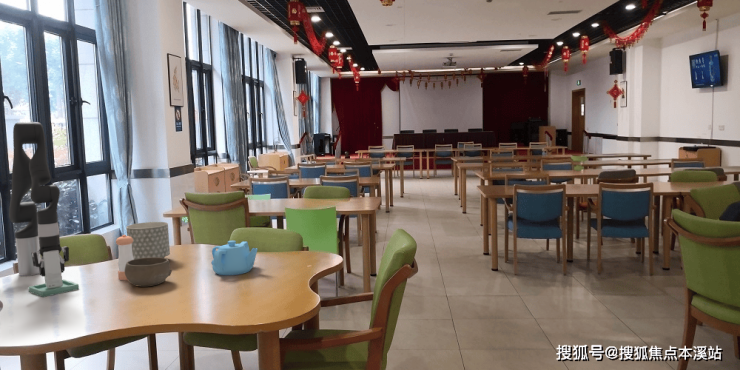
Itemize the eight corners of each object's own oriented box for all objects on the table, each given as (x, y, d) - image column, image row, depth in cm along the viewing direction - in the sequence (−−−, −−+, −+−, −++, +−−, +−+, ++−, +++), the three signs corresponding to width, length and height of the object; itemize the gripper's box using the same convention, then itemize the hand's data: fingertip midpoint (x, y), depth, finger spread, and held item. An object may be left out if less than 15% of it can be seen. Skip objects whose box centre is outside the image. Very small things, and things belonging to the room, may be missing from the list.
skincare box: (63, 286, 248) (60, 250, 246) (46, 289, 245) (43, 252, 243) (60, 282, 255) (57, 247, 253) (44, 284, 252) (41, 249, 250)
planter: (155, 255, 311) (152, 220, 309) (178, 259, 300) (175, 223, 298) (121, 263, 296) (118, 226, 294) (144, 267, 285) (141, 229, 283)
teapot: (214, 278, 260) (212, 246, 259) (209, 269, 278) (207, 239, 277) (259, 273, 267) (257, 242, 265) (251, 264, 285) (250, 235, 283)
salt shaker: (140, 276, 268) (136, 233, 266) (127, 280, 262) (123, 236, 260) (127, 275, 271) (124, 232, 269) (114, 279, 265) (111, 235, 263)
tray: (29, 291, 249) (28, 286, 249) (64, 283, 260) (63, 279, 260) (42, 297, 240) (42, 292, 240) (78, 288, 251) (78, 284, 250)
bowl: (179, 279, 260) (177, 256, 259) (151, 291, 243) (150, 266, 242) (146, 277, 266) (144, 255, 265) (116, 288, 249) (115, 264, 248)
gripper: (63, 230, 255) (66, 269, 257) (26, 236, 245) (30, 276, 246) (71, 232, 251) (74, 271, 252) (33, 238, 240) (37, 279, 242)
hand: (52, 274), depth 249 cm, fingers closed on skincare box, 6 cm apart
